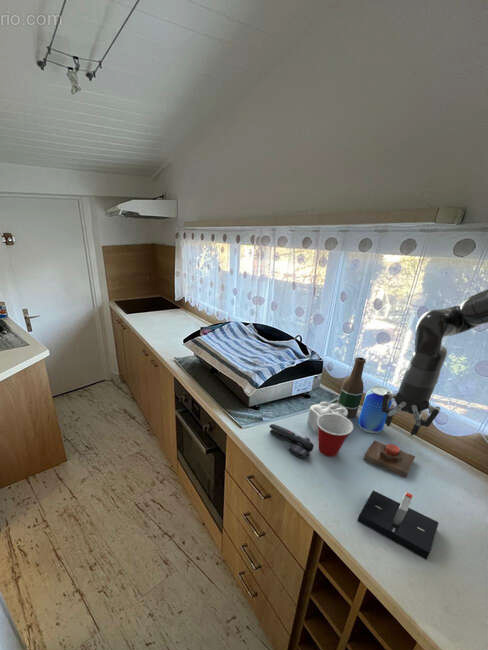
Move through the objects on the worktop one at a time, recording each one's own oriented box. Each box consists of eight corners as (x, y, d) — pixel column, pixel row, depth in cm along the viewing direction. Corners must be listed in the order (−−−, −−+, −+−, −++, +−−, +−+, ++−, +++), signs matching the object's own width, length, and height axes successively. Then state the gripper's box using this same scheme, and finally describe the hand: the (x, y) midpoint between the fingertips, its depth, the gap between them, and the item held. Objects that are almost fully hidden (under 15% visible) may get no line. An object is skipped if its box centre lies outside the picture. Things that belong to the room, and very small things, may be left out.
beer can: (383, 425, 115) (396, 388, 108) (380, 437, 109) (394, 399, 102) (358, 418, 120) (369, 382, 112) (355, 429, 113) (366, 392, 106)
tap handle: (399, 528, 74) (407, 510, 71) (391, 524, 75) (399, 507, 72) (405, 512, 78) (413, 494, 75) (398, 508, 79) (406, 491, 76)
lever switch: (435, 528, 77) (439, 521, 76) (426, 559, 70) (430, 552, 69) (370, 496, 86) (373, 489, 85) (357, 520, 79) (359, 513, 78)
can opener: (316, 454, 102) (319, 441, 99) (302, 462, 98) (305, 449, 96) (276, 428, 115) (278, 415, 112) (263, 434, 112) (264, 421, 109)
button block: (413, 461, 98) (417, 452, 96) (405, 478, 92) (410, 468, 90) (372, 445, 106) (375, 435, 104) (363, 459, 99) (366, 450, 97)
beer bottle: (331, 412, 123) (345, 358, 112) (340, 405, 128) (354, 352, 116) (351, 421, 118) (367, 364, 107) (359, 413, 123) (376, 358, 111)
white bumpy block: (303, 420, 119) (307, 401, 115) (333, 416, 121) (337, 397, 117) (319, 437, 110) (324, 417, 106) (350, 432, 112) (356, 412, 108)
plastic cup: (304, 451, 103) (310, 422, 98) (319, 437, 110) (326, 409, 104) (335, 467, 96) (344, 437, 91) (350, 452, 103) (359, 422, 97)
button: (399, 451, 97) (401, 447, 96) (396, 457, 95) (398, 453, 94) (386, 446, 99) (388, 442, 98) (383, 452, 97) (385, 447, 96)
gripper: (386, 377, 87) (370, 425, 95) (449, 394, 78) (425, 445, 86) (393, 368, 92) (377, 415, 100) (453, 384, 83) (430, 433, 91)
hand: (400, 429), depth 93 cm, fingers open, 5 cm apart
